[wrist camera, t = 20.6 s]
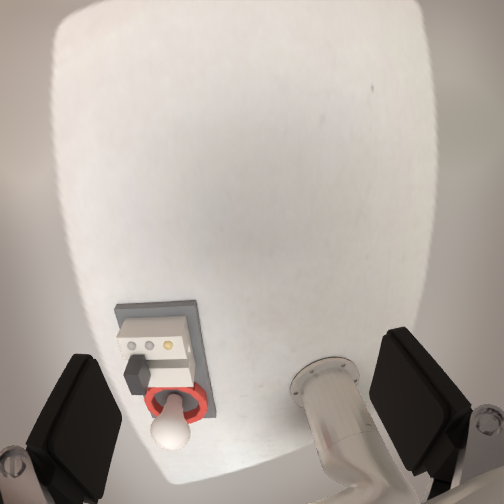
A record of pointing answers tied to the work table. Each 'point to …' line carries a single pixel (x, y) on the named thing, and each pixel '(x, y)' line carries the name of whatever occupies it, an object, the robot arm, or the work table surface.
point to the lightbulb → (171, 425)
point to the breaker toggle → (137, 375)
